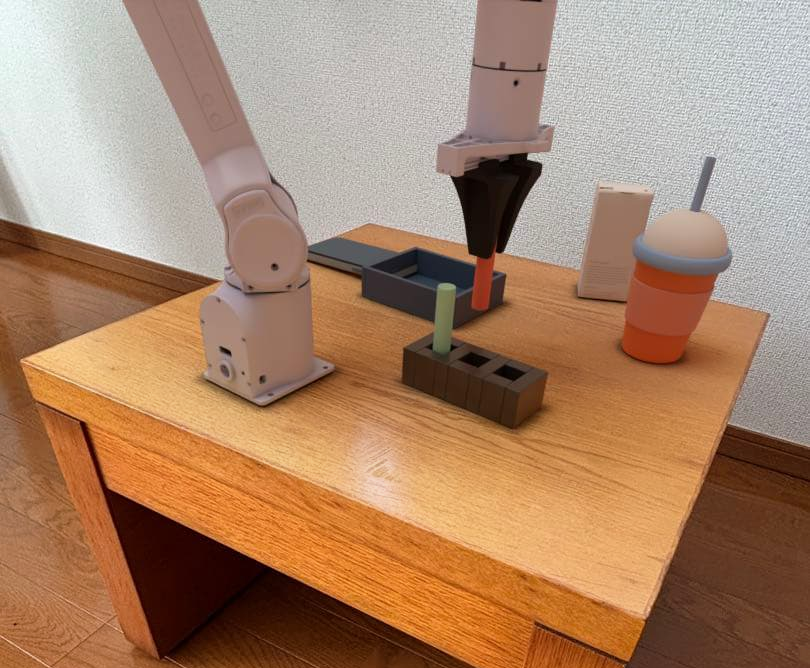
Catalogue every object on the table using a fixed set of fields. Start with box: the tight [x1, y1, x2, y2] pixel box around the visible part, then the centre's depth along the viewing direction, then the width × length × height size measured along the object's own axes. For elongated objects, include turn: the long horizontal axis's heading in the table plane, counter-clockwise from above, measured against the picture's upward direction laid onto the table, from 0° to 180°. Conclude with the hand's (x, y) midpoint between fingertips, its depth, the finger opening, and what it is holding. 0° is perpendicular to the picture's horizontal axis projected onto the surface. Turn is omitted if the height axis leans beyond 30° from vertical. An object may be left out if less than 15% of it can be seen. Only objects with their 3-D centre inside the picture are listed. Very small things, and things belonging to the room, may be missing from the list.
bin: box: [361, 246, 507, 330], centre depth 76 cm, size 13×10×3 cm
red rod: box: [471, 237, 498, 310], centre depth 59 cm, size 2×2×9 cm
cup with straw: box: [621, 156, 733, 364], centre depth 63 cm, size 9×9×18 cm
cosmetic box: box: [576, 180, 655, 302], centre depth 77 cm, size 6×4×12 cm
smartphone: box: [307, 236, 417, 278], centre depth 84 cm, size 8×2×15 cm
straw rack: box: [401, 331, 549, 429], centre depth 59 cm, size 12×5×4 cm, turn 52°
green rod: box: [433, 283, 456, 355], centre depth 59 cm, size 2×2×9 cm
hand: (486, 253), depth 59 cm, fingers closed on red rod, 1 cm apart
